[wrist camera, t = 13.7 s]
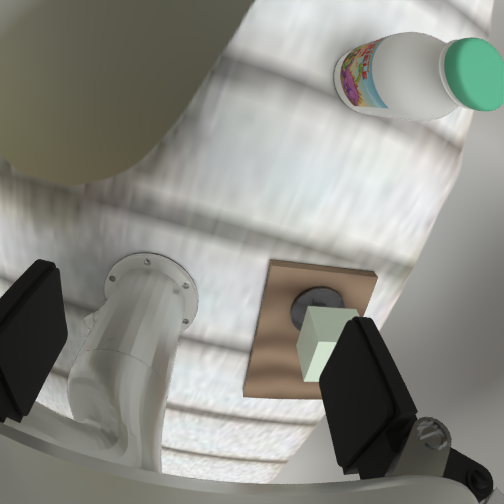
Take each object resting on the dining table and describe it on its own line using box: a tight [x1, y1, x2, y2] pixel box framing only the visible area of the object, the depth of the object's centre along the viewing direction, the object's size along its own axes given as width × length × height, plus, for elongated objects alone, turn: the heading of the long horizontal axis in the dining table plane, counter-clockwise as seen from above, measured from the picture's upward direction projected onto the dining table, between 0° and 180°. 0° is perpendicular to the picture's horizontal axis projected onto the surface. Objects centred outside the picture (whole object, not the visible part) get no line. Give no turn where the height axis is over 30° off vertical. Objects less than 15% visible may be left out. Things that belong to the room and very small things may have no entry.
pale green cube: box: [296, 306, 360, 382], centre depth 34 cm, size 6×6×6 cm
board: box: [243, 260, 378, 399], centre depth 40 cm, size 24×14×10 cm, turn 171°
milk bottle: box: [334, 32, 504, 121], centre depth 21 cm, size 8×8×20 cm
